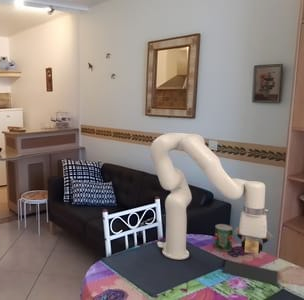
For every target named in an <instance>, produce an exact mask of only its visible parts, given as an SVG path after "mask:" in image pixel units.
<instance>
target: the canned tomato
mask: <svg viewBox="0 0 304 300" xmlns="http://www.w3.org/2000/svg"><path fill="white" fill-rule="evenodd" d="M214 227H215V229H214V231H215V232H214V248H215V249H216V250H219V251H221V252H230V251H232V250H233V249H232V248H233V230H234V229H233V227H232V226H231V225H228V224H225V223H219V224H218V223H217V224H215V226H214Z"/></svg>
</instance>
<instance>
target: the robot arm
mask: <svg viewBox="0 0 304 300" xmlns="http://www.w3.org/2000/svg"><path fill="white" fill-rule="evenodd" d="M149 148H150V149H149V155H150V158H151V161H152V163H153V167H154V170H155V172H156V175H157V178H158V181H159V184H160V186H161V187H162V188H163V189H164V190H165V191H170V193H169V194H168V195H167V196H166V198H165V201H164V207H165V241H164V242H163V241H159V240H158V241H157V244H156V245H157V247H158V248H162V250H161V252H162V254H163V256H164V257H166V258H169V259H172V260H179V261H180V260H186V259H188V258H189V257H190V252H189V251H188V250H187V226H188V225H187V224H188V218H187V217H188V216H187V207H188V206H189V205H190V204H191V202H192V199H193V197H192V191H191V190H190V187H189V184H188V181H187V179H186V176H185V174H184V172H183V171H182V170H181V169H180V168H177V167H175V166H174V164H173V160H172V159H171V157H170V156H169V152H171V151H174V150H177V151H184V152H185V153H186V154H187V156H189V157H190V158H191V160H192V161H193V162H195V164H196V165H197V166H198V167H199V168H200V169H201V170H202V172H203V174H204V175H205V176H206V178H207V179H208V180H209V182H210V183H211V185H212V186H213V187H214V188H215V189H216V190H217V192H219V193H220V194H221V195H222V196H223V197H225V198H226V199H227V200H230V201H236V200H239V199H240V198H242V196H243V210H242V211H241V213H240V217H239V225H238V226H237V227H236V228H235V229H233V230H232V234H234V235H236V236H237V238H238V239H239V240H240V241H241V248H242V251H245V239H246V237H250V238H256V239H259V248H258V254H261V252H263V245H265V244H266V243H267V242H269V241H271V240H274V237H273V235H272V234H271V233H270V231H269V230H268V219H267V214H266V213H269V209H267V208H266V207H265V203H266V201H265V200H266V185H265V183H264V182H261V181H256V180H245V179H241V178H237V177H236V178H235V177H234V178H232V177H231V176H229V174H228V173H227V172H226V171H225V170H224V168H223V166H222V163H221V160H220V158H219V156H217V155H216V153H214V152H213V151H212V150H211V149H210V148H209V147H208V146H207V145H206V142H205V138H204V137H203V136H202V135H201V134H198V133H184V132H167V133H164V134H161V135H159V136H158V137H156V138H155V139H154V140H153V142H152V143H151V145H150V147H149Z"/></svg>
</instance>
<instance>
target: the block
mask: <svg viewBox="0 0 304 300" xmlns="http://www.w3.org/2000/svg"><path fill="white" fill-rule="evenodd" d="M258 248H259V238H255V237H250V236H246V237H245V250H244V253H245V254H246V253H247V254H252V255H256V256H258V255H259V253H258Z"/></svg>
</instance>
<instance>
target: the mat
mask: <svg viewBox="0 0 304 300" xmlns="http://www.w3.org/2000/svg"><path fill="white" fill-rule="evenodd" d="M223 266H224V267H223V269H222V273H225V274H229V275H232V276H237V277H241V278H246V279H249V280H253V281H258V282H262V283H266V284H270V285H274V286H278V271H277V270H272V269H267V268H263V267H259V266H254V265H250V264H245V263H240V262H236V261H232V260H225V264H224V265H223Z"/></svg>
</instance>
